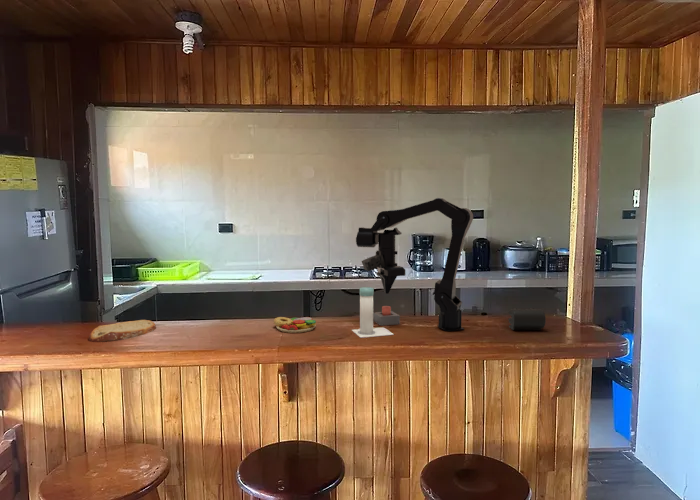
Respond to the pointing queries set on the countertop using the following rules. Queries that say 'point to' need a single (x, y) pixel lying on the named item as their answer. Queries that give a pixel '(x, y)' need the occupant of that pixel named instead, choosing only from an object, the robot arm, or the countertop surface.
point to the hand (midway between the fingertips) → (386, 293)
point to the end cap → (527, 319)
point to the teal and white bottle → (366, 310)
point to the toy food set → (294, 324)
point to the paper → (374, 332)
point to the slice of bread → (121, 330)
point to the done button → (386, 310)
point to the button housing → (386, 318)
